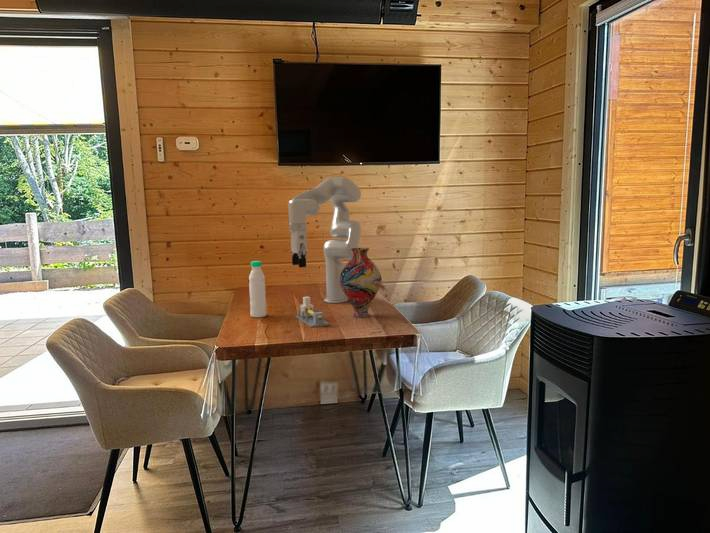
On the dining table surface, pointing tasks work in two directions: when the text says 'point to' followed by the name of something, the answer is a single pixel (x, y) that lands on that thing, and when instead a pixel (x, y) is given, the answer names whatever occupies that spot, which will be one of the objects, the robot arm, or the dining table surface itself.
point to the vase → (360, 281)
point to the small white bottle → (306, 306)
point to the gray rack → (312, 318)
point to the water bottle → (257, 290)
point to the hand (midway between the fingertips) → (299, 266)
